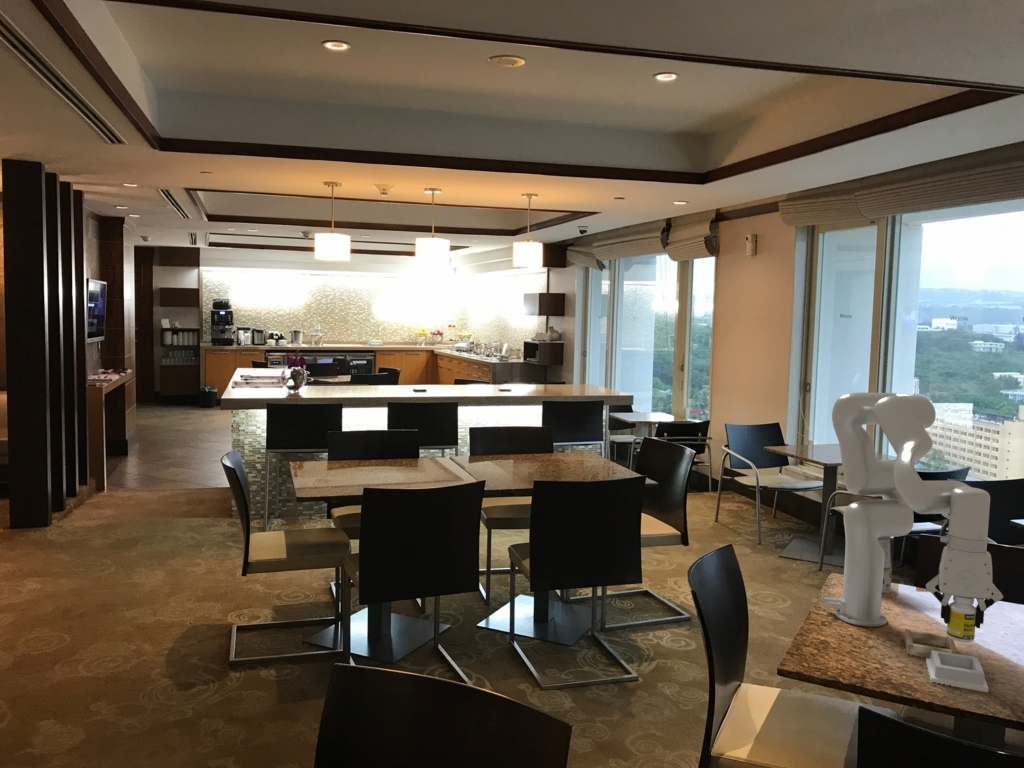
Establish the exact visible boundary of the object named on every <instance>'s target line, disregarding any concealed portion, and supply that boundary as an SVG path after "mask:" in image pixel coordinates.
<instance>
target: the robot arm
mask: <svg viewBox="0 0 1024 768" xmlns="http://www.w3.org/2000/svg"><path fill="white" fill-rule="evenodd" d="M831 419H832V420H831V423H832V425H833V430H834V432H835V436H836V438H837V441H838V444H839V445H838V446H839V450H840V458H841V464H842V465H841V466H842V473H843V479H844V484H845V487H846V489H847V491H848V492H849V493H850V494H852V495H854V496H881V497H882V500H880V499H879V500H878V499H876V500H874V499H873V500H870V499H869V500H858V501H853V502H852V503H850V504H848V505H847V506H846V508H845V509H844V510H843V525H844V534H845V535H844V536H845V537H844V538H845V551H844V570H843V581H842V583H843V584H842V593H841V594H840V597H836V598H834V597H833V598H832V597H828V596H824V597H823V605H827V606H828V608H835V609H834V615H835V616H836V617H837V619H839V620H841V621H843V622H846V623H848V624H852V625H855V626H860V627H869V628H870V627H872V628H873V627H876V628H877V627H882V626H884V625H886V624H887V620H888V619H887V616H886V615H885V614H884V613H882V612H881V610H882V601H883V600H882V599H883V598H882V597H883V593H882V587H883V573H884V552H883V549H882V547H881V546H880V544H879V542H878V538H879V537H891V538H893V537H902V536H903V537H904V536H906V535H908V534H909V533H911V531H912V530H913V528H914V522H915V521H914V512H915V513H916V514H919V515H931V514H932V515H937V514H941V515H943V514H944V515H946V514H947V515H948V514H949V519H948V532H947V534H946V535H940V539H939V541H940V543H944V544H946V545H945V546H944V547H943V550H942V553H941V557H940V561H939V567H938V574H937V575H935V576H934V577H933V578H931V579H930V580H929V581H928V582H927V583H926V584H925V588H926V590H927V591H928V592H930V593H931V594H932V595H933V596H934V598H936V599H937V601H939V603H940V605H941V607H940V618H941V619H943V622H944V624H948V623H949V612H950V606H949V604H950V602H949V601H950V600H951V597H952V596H961V597H968V598H974V599H976V602H977V604H976V606H974V607H975V608H976V610H977V612H976V625H975V628H976V629H978V630H979V629H981V625H984V621H985V620H984V619H985V611H987V609H988V608H990V607H992V606H993V605H994V604H995V603H998V602H999V601H1001V600H1002V599H1004V595H1003V594H1002V592H1001V591H1000V590H999V589H998V588H997V587H996V585H995V584H994V582H993V564H992V563H993V560H992V555H991V553H990V551H987V547H988V535H989V532H988V531H989V524H990V523H989V521H990V506H991V495H990V493H989V492H988V491H987V490H984V489H982V488H978V487H972V486H970V485H968V484H967V483H964V482H963V481H960V480H953V479H952V480H948V479H947V480H923V479H922V477H920V474H918V472H917V470H916V468H915V466H914V462H916V461H918V460H921V458H922V459H923V457H925V456H926V455H927V454H928V453H929V452H931V450H932V448H933V445H934V444H933V443H934V442H933V439H932V437H931V436H930V435H929V433H928V432H927V430H926V429H928V428H930V427H931V426H932V425H934V423H935V420H936V409H935V406H934V405H933V403H932V402H931V400H929V399H928V398H927V397H925V396H923V395H914V394H904V393H897V392H850V393H846V394H842V395H841V396H839V397H837V399H836V401H835V402H834V403H833V407H832V411H831ZM864 425H869V426H870V425H871V426H872V425H878V426H880V429H881V431H882V432H883V435H885V437H886V439H887V440H888V442H889V444H890V445H891V447H892V449H893V450H894V452H895V454H896V457H895V460H893V459H887V458H886V459H885V458H884V459H881V458H880V459H878V458H877V455H876V449H875V444H874V440H873V439H872V437H871V436H870V434H869V433H868V432H867V431H866V429H865V428H864V427H863V426H864ZM937 585H938V588H939V590H940V591H939V590H938V589H936V586H937Z"/></svg>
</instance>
